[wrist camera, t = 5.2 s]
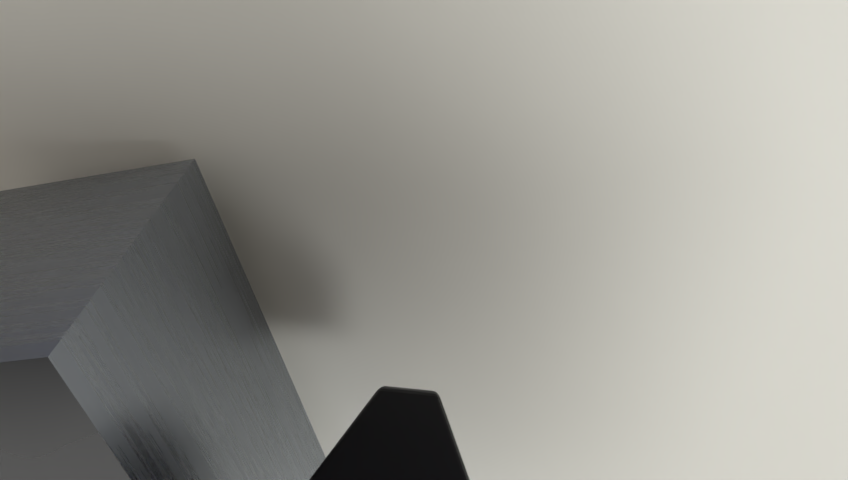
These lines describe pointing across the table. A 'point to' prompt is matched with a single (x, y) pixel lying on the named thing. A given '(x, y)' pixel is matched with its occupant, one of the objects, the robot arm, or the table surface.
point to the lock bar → (137, 339)
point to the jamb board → (499, 207)
